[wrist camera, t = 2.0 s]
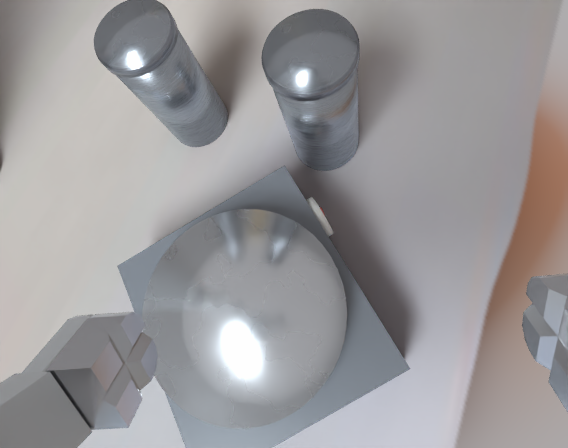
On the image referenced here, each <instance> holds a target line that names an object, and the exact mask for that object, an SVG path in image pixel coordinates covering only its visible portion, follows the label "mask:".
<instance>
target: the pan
mask: <svg viewBox="0 0 568 448" xmlns="http://www.w3.org/2000/svg"><path fill="white" fill-rule="evenodd" d="M142 319H143V321H144V323H145V327H144V330H143V333H145V334H146V335H148V336H149V337H150V338H152V339H153V341H154V343H155V345H156V349H157V354H158V360H157V367H156V371H155V373H154V376H155V377H156V379H157V381H158V382H159V384H160V386H161V387H162V389H163V390H164V391H165V392H166V394H167V395H168V396H169V397H170V398H171V399H172V400H173V401H174V402H175V403H176V404H177V405H178V406H179V407H180V408H182V409H183V410H185V411H186V412H187V413H189V414H190V415H192V416H194V417H196V418H198V419H200V420H202V421H204V422H206V423H209V424H213V425H216V426H220V427H226V428H232V429H247V428H254V427H261V426H264V425H268V424H271V423H274V422H277V421H279V420H281V419H283V418H285V417H287V416H289V415H291V414H292V413H294V412H295V411H297V410H298V409H300V408H301V407H303V406H304V405H305V404H306V403H307V402H308V401H309V400H310V399H311V398H313V397H314V396H315V394H316V393H317V392H318V391H319V390H320V388H321V387H322V386H323V385H324V384H325V382H326V381H327V379H328V377H329V376H330V374H331V373H332V371H333V369H334V367H335V365H336V363H337V361H338V359H339V357H340V354H341V350H342V347H343V344H344V340H345V334H346V329H347V303H346V296H345V291H344V287H343V283H342V280H341V277H340V275H339V272H338V269H337V267H336V265H335V264H334V262H333V260H332V258H331V256H330V255H329V253H328V252H327V250H326V249H325V247H324V246H323V245H322V244H321V242H320V241H319V240H318V239H317V238H316V237H315V236H314V235H313V234H312V233H311V232H309V231H308V230H307V229H306V228H305V227H303V226H302V225H300V224H298V223H297V222H295V221H294V220H292V219H289V218H287V217H285V216H283V215H280V214H277V213H274V212H270V211H265V210H258V209H239V210H231V211H227V212H223V213H219V214H216V215H214V216H211V217H208V218H206V219H204V220H203V221H201V222H199V223H197V224H195V225H194V226H192V227H191V228H190V229H188V230H187V231H185V232H184V233H183V234H182V235H181V236H180V237H179V238H177V239H176V240H175V242H174V243H173V244H172V245H171V246H170V247H169V248H168V249H167V251H166V252H165V254H164V255H163V256H162V258H161V259H160V261H159V263H158V264H157V266H156V268H155V270H154V272H153V274H152V277H151V279H150V281H149V284H148V287H147V291H146V294H145V298H144V304H143V311H142Z"/></svg>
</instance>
